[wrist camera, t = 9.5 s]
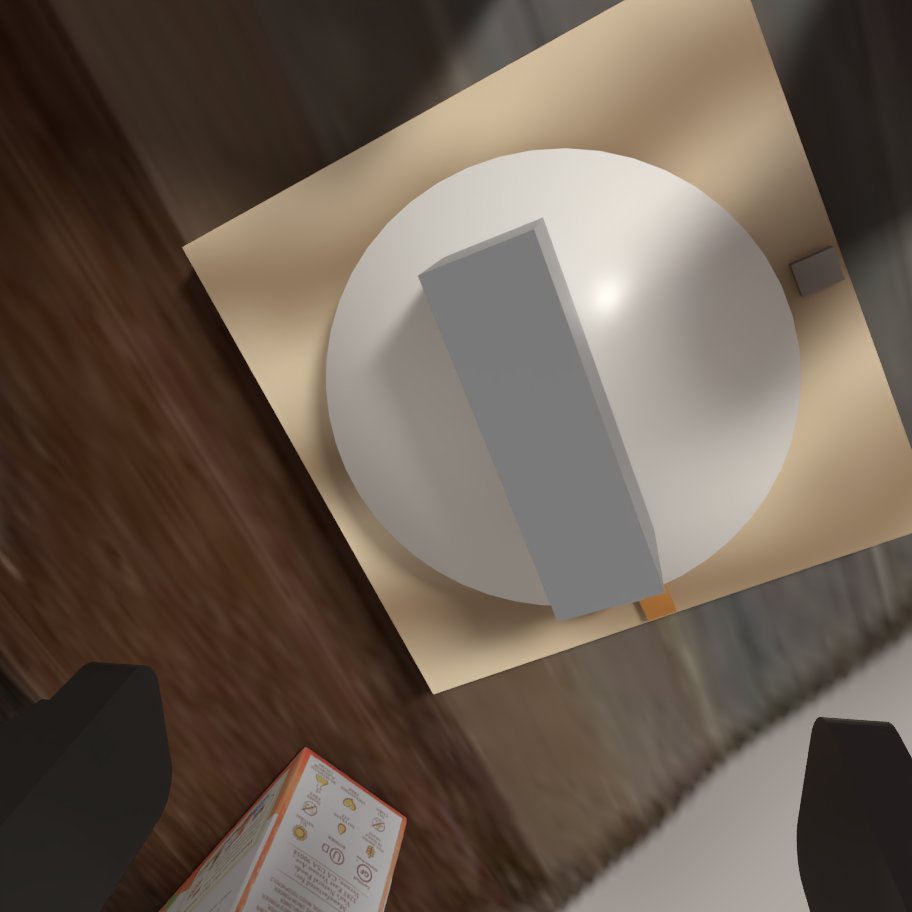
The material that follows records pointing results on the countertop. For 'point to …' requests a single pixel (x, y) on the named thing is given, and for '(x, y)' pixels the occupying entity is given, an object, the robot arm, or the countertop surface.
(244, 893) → the cracker box
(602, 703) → the countertop surface
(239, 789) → the countertop surface
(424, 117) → the dial base
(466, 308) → the dial
